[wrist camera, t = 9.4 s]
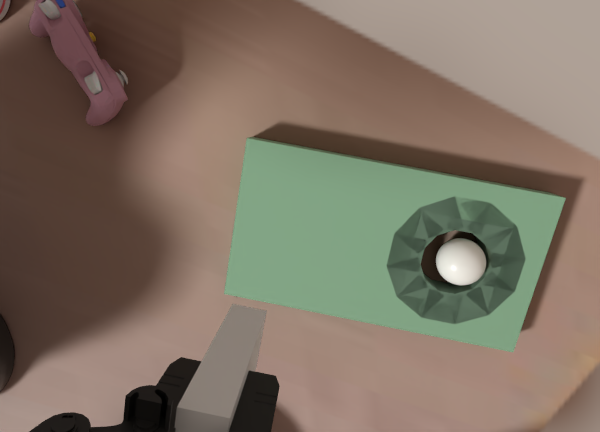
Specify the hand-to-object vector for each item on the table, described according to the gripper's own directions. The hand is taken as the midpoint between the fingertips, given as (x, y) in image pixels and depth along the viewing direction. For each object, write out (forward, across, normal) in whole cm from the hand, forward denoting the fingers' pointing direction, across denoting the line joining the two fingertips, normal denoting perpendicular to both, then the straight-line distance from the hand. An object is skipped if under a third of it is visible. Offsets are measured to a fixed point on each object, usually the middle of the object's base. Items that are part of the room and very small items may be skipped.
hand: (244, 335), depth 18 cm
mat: (+20, -8, 0) cm, 22 cm away
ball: (+18, -15, 0) cm, 24 cm away
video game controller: (+21, +19, -11) cm, 30 cm away
